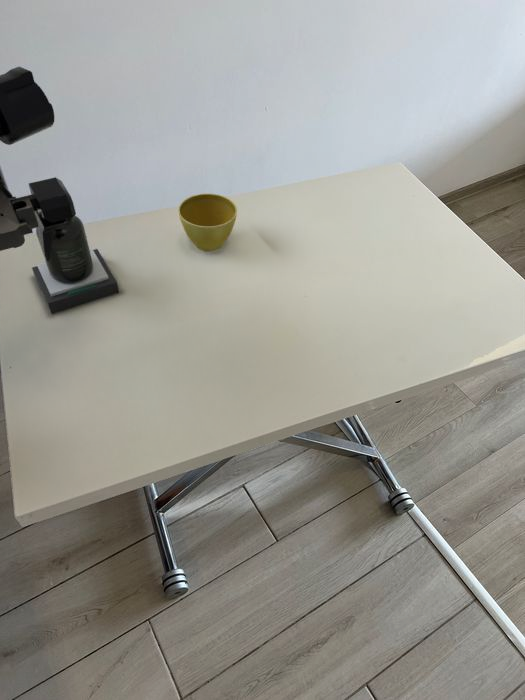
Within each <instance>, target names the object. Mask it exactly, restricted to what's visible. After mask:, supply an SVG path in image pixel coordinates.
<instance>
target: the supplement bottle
mask: <svg viewBox="0 0 525 700" xmlns="http://www.w3.org/2000/svg"><path fill="white" fill-rule="evenodd" d="M35 233H36V237H37V241H38V244H39V246H40V249H41V253H42V255H43V259H44V262H46V264H47V267H48V270H49V273H50V275H51V277H52V278H53V279H55V280H56V281H58V282H61V283H76V282H80V281H82V280H84V279H86V278H87V277H88V276H89V275H90V274H91V272H92V270H93V262H92V258H91V254H90V250H89V249H90V245H89V242H88V238H87V233H86V229H85V226H84V223H83V221H82V220H81V218H80V217H78V216H77V214H76V215H75V216H74V217H72V218H69V219H66V223H65V224H62V225H60V226H58V227H57V228H56V229H55V232H54V235H53V240H52V247H51V255H50V261H46V259H45V256H44V254H43V251H42V248H41V244H40V240H39V235H38V230H37V228H35Z"/></svg>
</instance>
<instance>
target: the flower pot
mask: <svg viewBox="0 0 525 700" xmlns="http://www.w3.org/2000/svg"><path fill="white" fill-rule="evenodd" d="M237 215H238V208H237V205H236V204H235V202H234V201H232V200H231V199H230V198H228V197H226V196H224V195H220V194H216V193H199V194H195V195H194V194H193V195H191V196H189V197H187V198H185V199H184V200H183V201H182V202H181V203H180V204H179V206H178V217H179V220H180V223H181V225H182V228H183V230H184V233H185V234H186V236H187V238H188V239H189V240H190V241H191V243H192V244H193V245H194V247H196V248H197V249H198V250H200V251H202V252H203V251H204V252H215V251H217V250H219V249H221V248H222V247H223V245H224V244H225V243H226V241H227V240H228V239H229V237H230V235H231V234H232V232H233V229H234V226H235V224H236V219H237Z"/></svg>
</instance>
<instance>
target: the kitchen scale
mask: <svg viewBox="0 0 525 700" xmlns="http://www.w3.org/2000/svg"><path fill="white" fill-rule="evenodd" d="M89 250H90V254H91V258H92V262H93V270H92V272H91V274H90V275H89V276H88V277H87V278H86V279H84V280H82V281H80V282H76V283H61V282H58V281H56V280H55V279H53V278H52V277H51V275H50V273H49V270H48V267H47V264H46V261H44V262H40V263H37V264H36V266H33V267H31V269H32V273H33V275H34V276H33V277H34V278H35V281H36V282H37V283H36V284H37V285H38V288H39V289H40V292H41V294H42V297H43V298H44V301H45V303H46V305H47V307H48V309H49V312H50V314H51V315H54V314H58V313H60V312H63V311H67V310H69V309H73V308H76V307H80V306H82V305H86V304H88V303H92V302H95V301H98V300H100V299H105V298H107V297H110V296H113V295H117V294H119V293H120V290H119V285H118V281H117V279H116V278H115V276H114V274H113V273H112V270H110V269H111V268H109V266H108V265H107V263H106V261H105V259H104V257H103V256H102V254H101V253H100V251H99V249H98V248H95V249H93V248H89Z"/></svg>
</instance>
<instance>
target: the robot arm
mask: <svg viewBox="0 0 525 700" xmlns="http://www.w3.org/2000/svg"><path fill="white" fill-rule="evenodd" d="M54 123H55V110H54V107H53V104H52V103H50V100H49V98H48V97H47V95H46V94H45V92H44V91H43V89H42V87H41V86H39V84H38V83H37V82H36V81H35V78H34V75H33V72H32V71H31V70H29V69H26V68H24V67H21V66H17V67H14V68H11V69H9V70H7V72H5V73H3V74H0V142H1V143H3V144H5V145H8V146H10V145H13V144H15V143H18V142H20V141H23V140H25V139H27V138H30V137H32V136H34V135H36V134H38V133H40V132H42V131H45V130H48V129H49V128H52V127H53V126H54ZM28 188H29V192H30V194H28V195H24V196H19V197H16V196H13V194H12V192H11V191H10V189H9V187H8V183H7V181H6V178H5V175H4V171H3V170H2V167H1V166H0V252H2V251H5V250H9V249H17V248H20V247H22V246H23V245H24V244H25V242H26V238H25V236H27V235H29V234H34V231H33V230H34V229H36V228H37V230H38V235H39V240H40V243H39V245H40V244H41V246H40V249H41V248H42V249H41V252H42V251H43V252H42V255H43V254H44V255H43V257H44V256H45V258H44V260H45V259H46V261H50V255H51V247H52V240H53V235H54V232H55V229H56V228H57V227H58V226H60V225H62V224H65V223H66V219H69V218H72V217H74V216H75V215H76V216H77V214H76V208H75V203H74V201H73V199H72V196H71V193H69V190H68V189H67V187H66V186H65V185H64V183H63V181H62V180H61V179H59V178H57V177H56V176H55V177H51V178H47V179H42V180H38V181H34V182H28ZM39 240H38V241H39ZM46 261H45V262H46Z"/></svg>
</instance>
